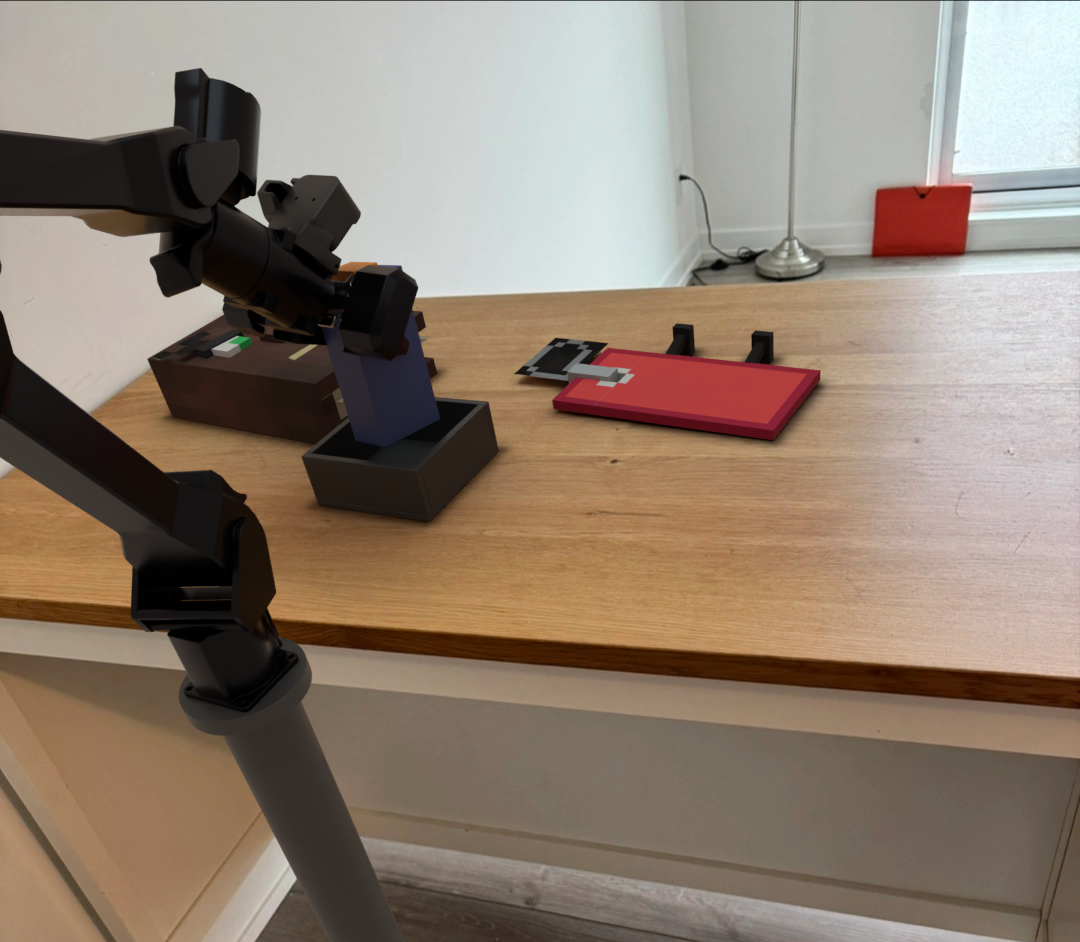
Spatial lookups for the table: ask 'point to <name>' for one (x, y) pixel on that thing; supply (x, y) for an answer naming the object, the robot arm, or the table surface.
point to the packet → (382, 383)
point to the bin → (404, 464)
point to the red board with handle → (677, 384)
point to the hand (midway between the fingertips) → (386, 345)
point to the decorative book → (254, 382)
